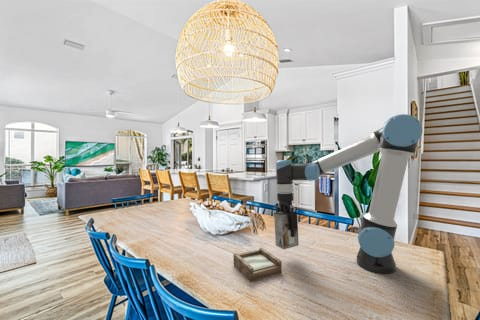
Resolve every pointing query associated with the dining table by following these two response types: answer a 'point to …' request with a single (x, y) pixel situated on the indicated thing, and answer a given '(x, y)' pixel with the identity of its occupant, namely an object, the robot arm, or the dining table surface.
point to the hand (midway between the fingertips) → (286, 240)
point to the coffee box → (283, 231)
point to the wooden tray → (257, 264)
